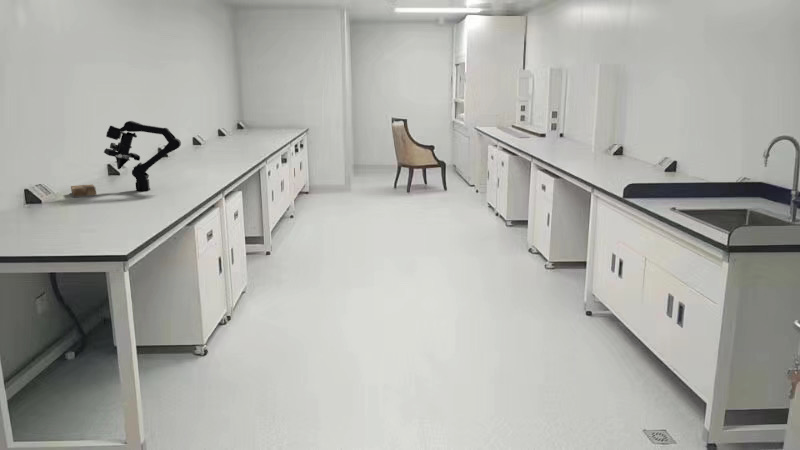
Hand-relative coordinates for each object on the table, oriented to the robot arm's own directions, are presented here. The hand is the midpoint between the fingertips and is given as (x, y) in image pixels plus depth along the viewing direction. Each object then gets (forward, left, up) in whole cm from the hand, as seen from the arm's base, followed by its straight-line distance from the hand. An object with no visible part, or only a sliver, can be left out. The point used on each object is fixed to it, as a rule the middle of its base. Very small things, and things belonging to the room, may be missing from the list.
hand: (118, 169), depth 351 cm
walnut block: (+11, +10, -10) cm, 17 cm away
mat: (+16, +12, -12) cm, 24 cm away
